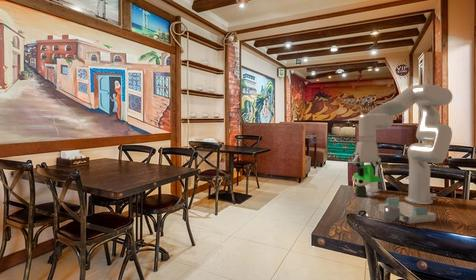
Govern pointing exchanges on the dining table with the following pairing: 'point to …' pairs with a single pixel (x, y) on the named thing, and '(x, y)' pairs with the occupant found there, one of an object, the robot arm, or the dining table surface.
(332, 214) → the dining table surface
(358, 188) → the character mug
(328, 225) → the dining table surface
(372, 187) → the bottle
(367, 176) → the mechanical part
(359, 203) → the dining table surface
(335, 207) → the dining table surface
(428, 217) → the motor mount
